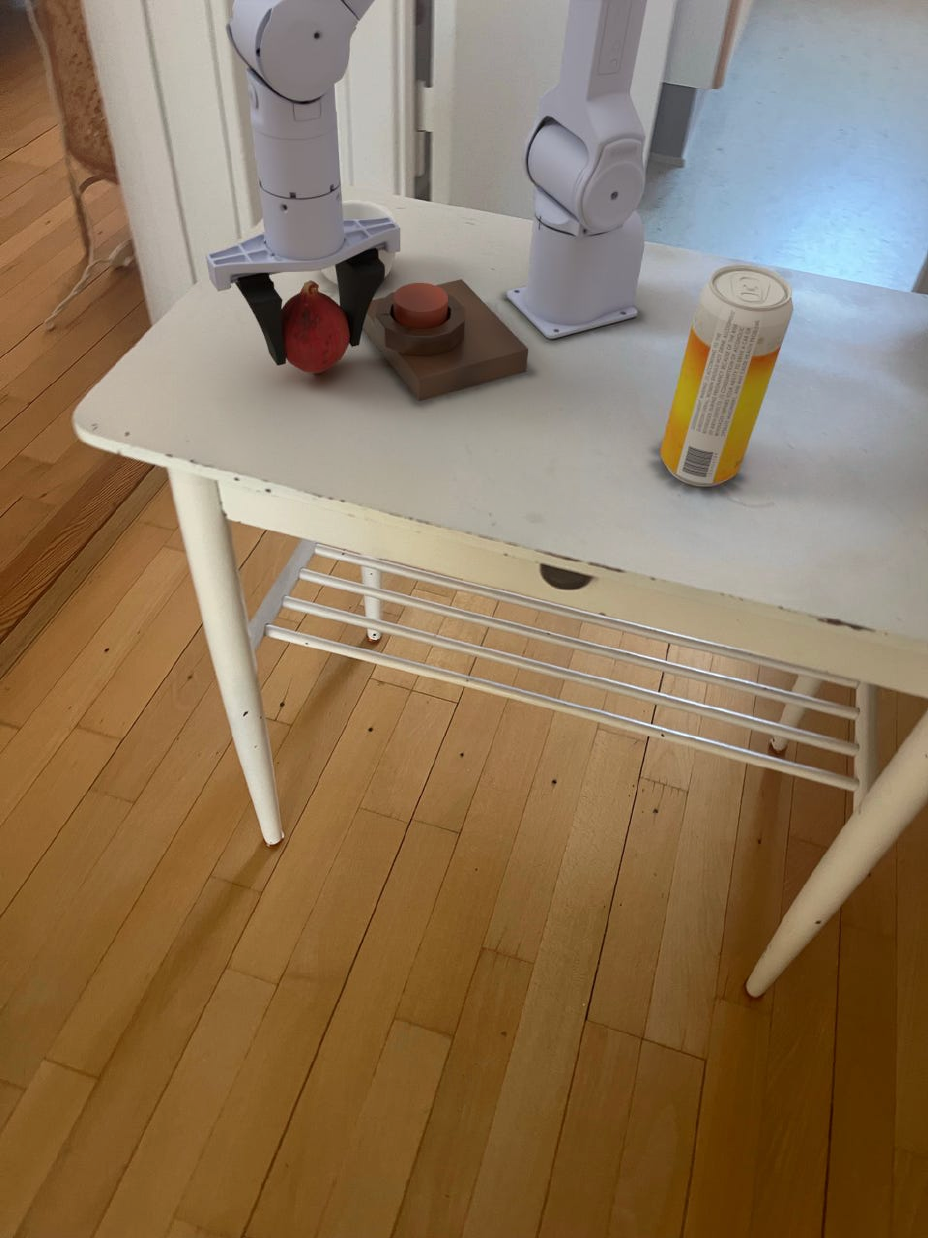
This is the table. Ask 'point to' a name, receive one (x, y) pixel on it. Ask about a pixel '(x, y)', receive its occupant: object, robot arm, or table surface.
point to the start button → (420, 305)
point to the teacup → (364, 211)
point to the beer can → (725, 372)
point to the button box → (447, 345)
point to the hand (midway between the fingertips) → (315, 348)
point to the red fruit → (314, 330)
